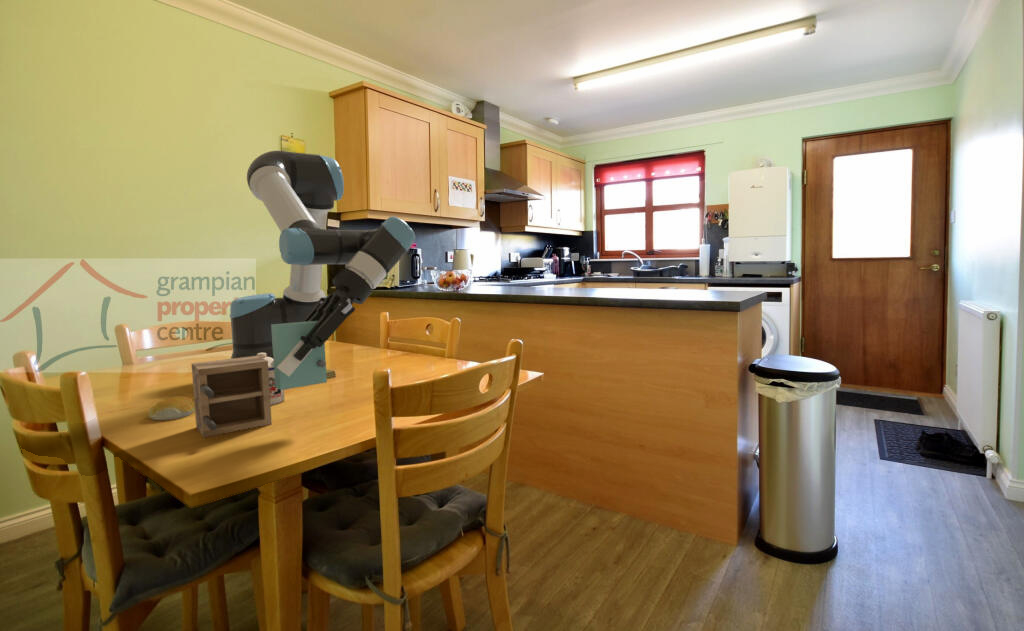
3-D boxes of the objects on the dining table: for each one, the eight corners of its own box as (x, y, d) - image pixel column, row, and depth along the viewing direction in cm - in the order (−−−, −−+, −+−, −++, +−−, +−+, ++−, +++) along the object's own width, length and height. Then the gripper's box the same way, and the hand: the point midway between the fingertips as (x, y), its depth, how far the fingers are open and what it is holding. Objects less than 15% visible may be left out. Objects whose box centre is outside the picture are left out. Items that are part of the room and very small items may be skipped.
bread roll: (199, 408, 118) (198, 390, 118) (188, 419, 110) (187, 400, 109) (157, 411, 115) (156, 394, 115) (143, 423, 107) (141, 404, 107)
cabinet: (196, 427, 103) (191, 363, 102) (261, 415, 111) (257, 355, 109) (210, 446, 92) (205, 375, 91) (281, 432, 100) (277, 365, 98)
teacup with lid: (245, 409, 115) (242, 358, 114) (240, 400, 123) (237, 352, 122) (302, 401, 122) (299, 352, 121) (294, 393, 130) (291, 347, 128)
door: (275, 386, 99) (271, 324, 98) (320, 379, 104) (316, 320, 103) (282, 391, 95) (278, 326, 94) (328, 383, 101) (325, 322, 100)
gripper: (389, 292, 102) (309, 389, 93) (355, 289, 115) (281, 375, 106) (363, 266, 98) (276, 365, 89) (330, 266, 111) (251, 352, 102)
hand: (279, 370), depth 97 cm, fingers closed on door, 3 cm apart
